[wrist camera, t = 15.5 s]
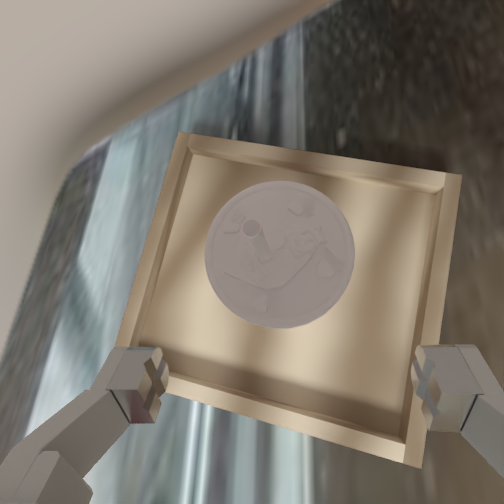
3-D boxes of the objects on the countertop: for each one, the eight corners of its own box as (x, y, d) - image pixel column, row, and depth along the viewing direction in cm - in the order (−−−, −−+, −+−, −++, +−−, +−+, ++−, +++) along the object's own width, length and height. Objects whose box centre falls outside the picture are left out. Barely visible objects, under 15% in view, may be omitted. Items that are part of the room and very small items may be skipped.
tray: (448, 187, 23) (462, 175, 21) (409, 454, 20) (421, 468, 18) (187, 144, 27) (178, 131, 25) (121, 369, 24) (106, 374, 22)
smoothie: (227, 253, 24) (136, 168, 10) (309, 220, 24) (328, 86, 10) (258, 338, 22) (202, 371, 9) (346, 304, 22) (430, 282, 8)
